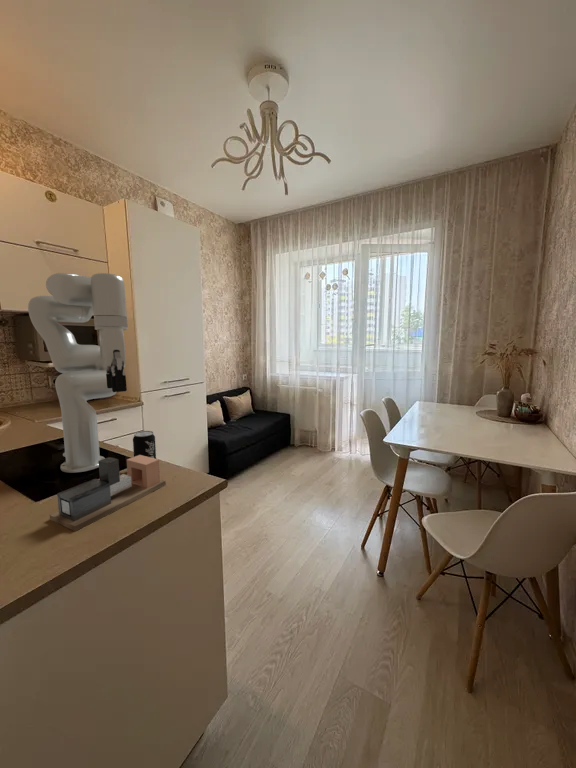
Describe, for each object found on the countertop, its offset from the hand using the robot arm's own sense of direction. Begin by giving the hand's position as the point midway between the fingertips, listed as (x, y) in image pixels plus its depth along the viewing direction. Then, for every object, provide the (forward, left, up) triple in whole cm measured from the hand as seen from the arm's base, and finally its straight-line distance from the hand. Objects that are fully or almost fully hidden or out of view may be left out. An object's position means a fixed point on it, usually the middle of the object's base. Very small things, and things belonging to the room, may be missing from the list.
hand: (116, 389), depth 84 cm
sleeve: (+2, -11, -28) cm, 30 cm away
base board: (+2, -4, -29) cm, 29 cm away
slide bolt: (+2, -8, -27) cm, 28 cm away
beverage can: (-8, +14, -29) cm, 34 cm away
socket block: (+2, +5, -28) cm, 28 cm away
